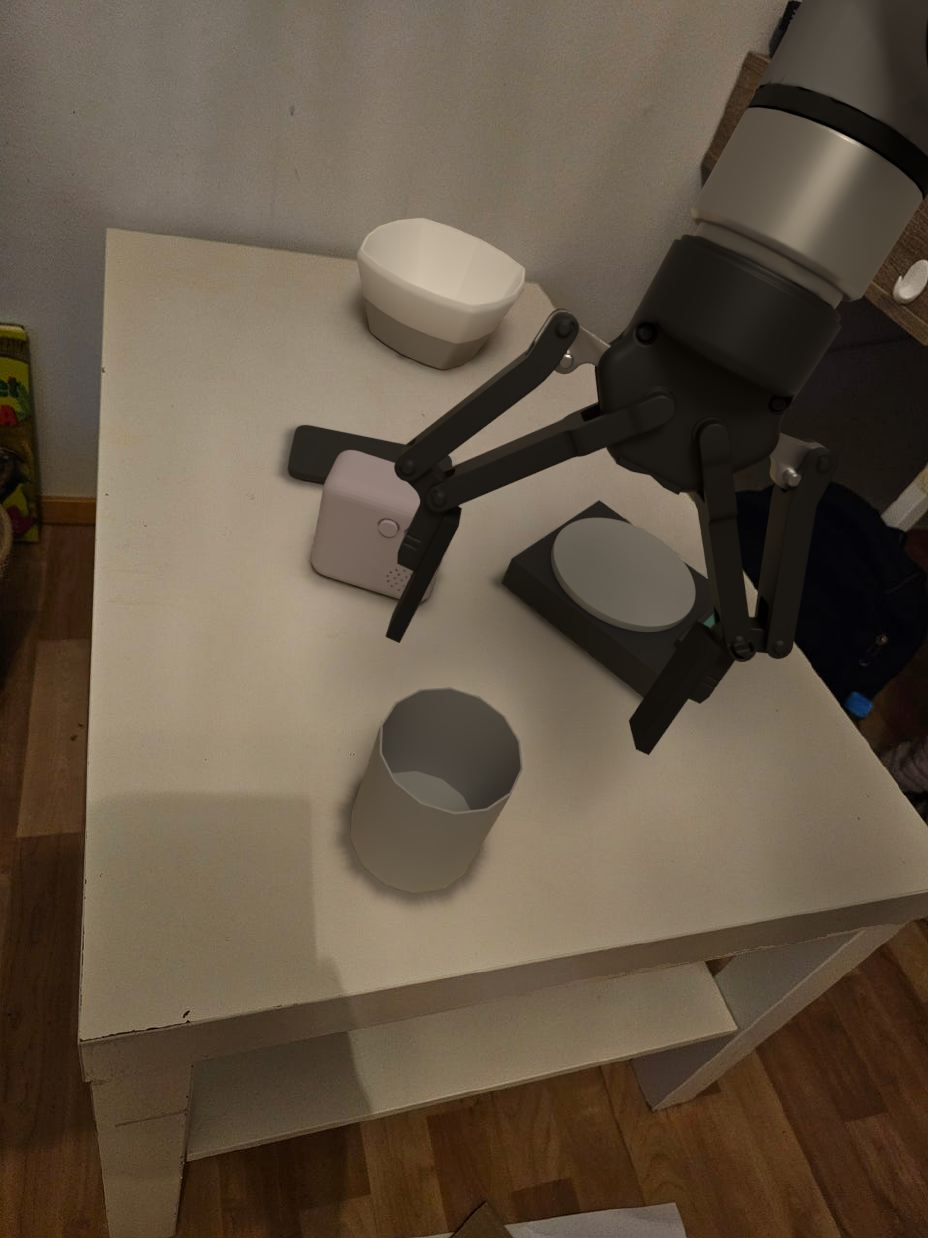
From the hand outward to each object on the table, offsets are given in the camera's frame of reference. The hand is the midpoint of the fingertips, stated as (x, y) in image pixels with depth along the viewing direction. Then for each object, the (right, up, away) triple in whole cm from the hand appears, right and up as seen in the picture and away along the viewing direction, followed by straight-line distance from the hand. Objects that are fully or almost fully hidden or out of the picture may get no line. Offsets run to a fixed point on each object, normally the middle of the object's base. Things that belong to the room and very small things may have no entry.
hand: (519, 684), depth 42 cm
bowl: (-7, +36, +55) cm, 66 cm away
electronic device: (-10, +7, +27) cm, 30 cm away
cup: (-6, -11, +13) cm, 18 cm away
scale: (+11, +5, +32) cm, 34 cm away
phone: (-11, +17, +36) cm, 42 cm away
